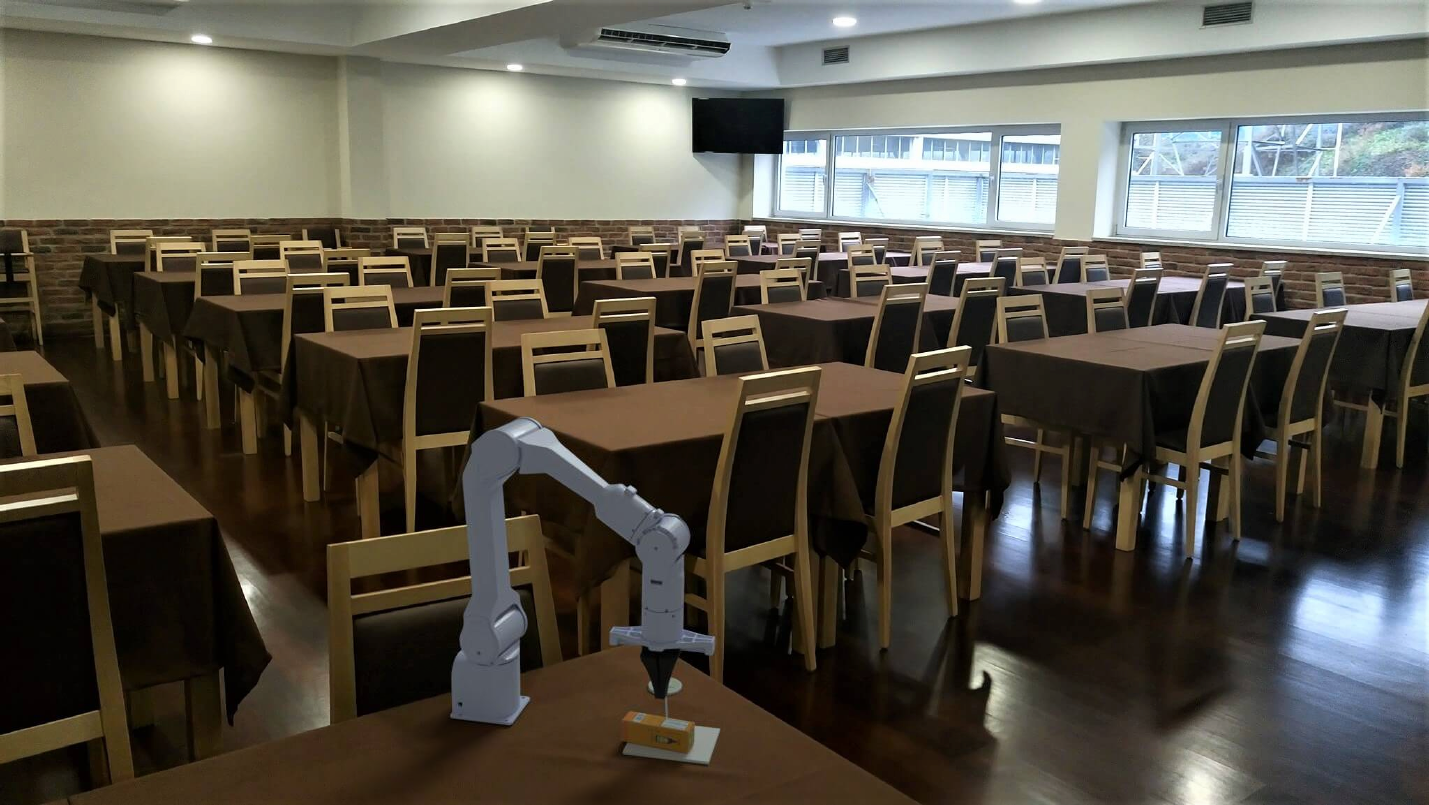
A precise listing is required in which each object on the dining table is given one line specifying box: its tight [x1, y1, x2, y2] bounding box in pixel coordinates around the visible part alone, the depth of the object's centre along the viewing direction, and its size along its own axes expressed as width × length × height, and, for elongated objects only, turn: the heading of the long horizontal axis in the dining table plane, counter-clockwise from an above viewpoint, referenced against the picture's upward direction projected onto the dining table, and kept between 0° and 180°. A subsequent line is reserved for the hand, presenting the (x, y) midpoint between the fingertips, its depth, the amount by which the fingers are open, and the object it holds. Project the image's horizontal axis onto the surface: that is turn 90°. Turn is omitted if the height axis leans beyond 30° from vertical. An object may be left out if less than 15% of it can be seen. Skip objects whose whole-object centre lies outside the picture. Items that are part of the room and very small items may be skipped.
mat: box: [622, 725, 721, 765], centre depth 147 cm, size 12×9×1 cm
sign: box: [648, 677, 683, 718], centre depth 158 cm, size 5×1×15 cm
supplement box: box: [620, 710, 696, 753], centre depth 145 cm, size 3×3×10 cm
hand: (661, 695), depth 145 cm, fingers closed
